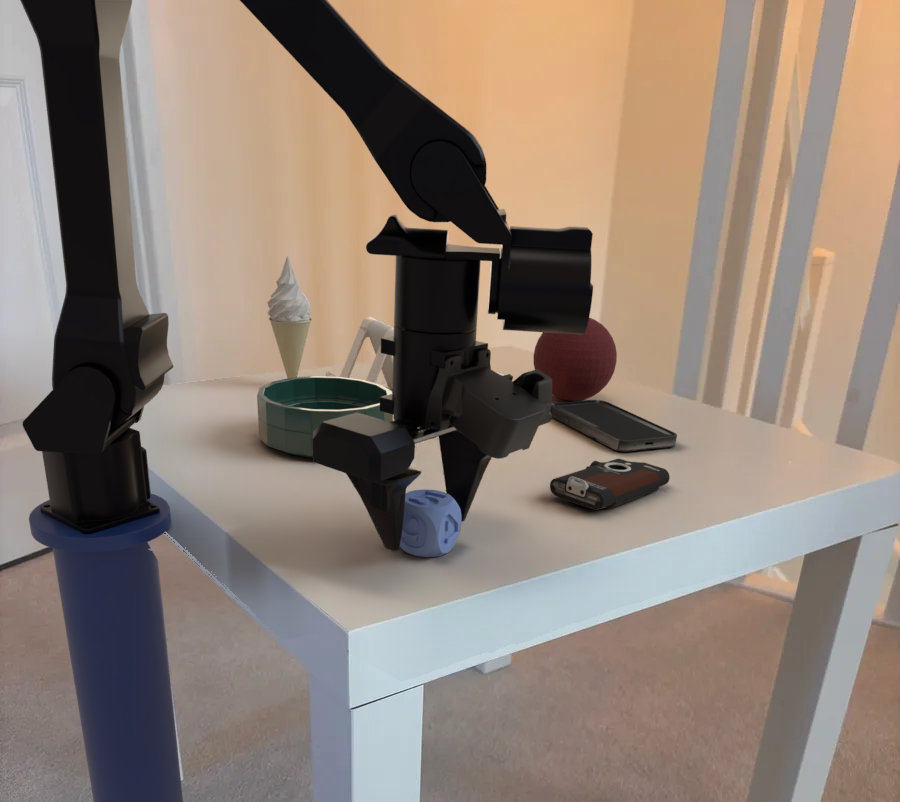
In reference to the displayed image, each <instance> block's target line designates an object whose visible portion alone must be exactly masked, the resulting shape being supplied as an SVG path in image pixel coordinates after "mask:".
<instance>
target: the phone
mask: <svg viewBox="0 0 900 802" xmlns="http://www.w3.org/2000/svg"><path fill="white" fill-rule="evenodd" d="M550 412H551V414H552V419H555V420H557V421H559V422H561V423H563V424H564V425H567V426H568V427H570V428H572V429H573V430H576V431H578V432H580V433H581V434H583V435H586V436H587V437H589V438H591V439H593V440H595V441H597V442H599V443H600V444H603V445H605V446H607V447H609V448H611V449H612V450H613V451H614V450H615V451H618V452H623V453H624V452H626V453H628V452H636V451H637V452H638V451H646V450H654V449H655V450H656V449H664V448H665V449H666V448H673V447H676V445H677V444H676V443H677V438H678V434H677V433H676V432H674V431H672V430H670V429H668V428H665V427H664V426H661V425H659V424H656V423H655V422H652V421H650V420H648V419H646V418H644V417H641V416H639V415H637V414H634V413H633V412H630V411H628V410H626V409H624V408H621V407H619V406H617V405H616V404H613V403H610V402H608V401H605V400H603V399H602V400H601V399H589V400H579V401H564V402H563V401H561V402H552V406H551V408H550Z"/></svg>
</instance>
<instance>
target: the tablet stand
mask: <svg viewBox="0 0 900 802" xmlns="http://www.w3.org/2000/svg"><path fill="white" fill-rule="evenodd" d="M391 336H394V326H392V325H389V324H387V323H384V322H382V321H380V320H378V319H376V318H374V317H371V316H367V317H365V318H364V319H362V321H361V323H360V326H359V328H358V331H357V332H356V335H355V338H354V339H353V343H352V345H351V348H350V350H349V352H348V355H347V358H346V360H345V363H344V365H343V368H342V370H341V373H340V375H339V376H338V377H344V378H351V375H352V372H353V369H354V366H355V364H356V363H357V362H356V361H357V360H358V357H359V354H360V352H361V350H362V347H363V344H364V342H365V340H366V339H367V338H369V340H370V343H371V346H372V348H373V351H374V354H375V357H374V359H373V362H372V364H371V367H370V369H369V372H368V374H367V376H366V379H365V381H369V382H372V383H376V382H377V380H378V377H379V375H380V372H382V375H383V377H384V380H385V383H386V385H387V389H389V390H391V391H392V385H393V356H391V355H387V354H383V353H381V338H386V337H391ZM325 376H327V377H337V376H336V375H335V374H333V373H332V372H330V371H325Z"/></svg>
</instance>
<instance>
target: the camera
mask: <svg viewBox="0 0 900 802" xmlns="http://www.w3.org/2000/svg"><path fill="white" fill-rule="evenodd" d="M670 478H671V477H670V473H669V471H668V470H667V469H665V468H664V467H660V466H656V465H653V464H650V463H647V462H639V461H629V460H625V459H621V458H615V459H612V460H608V461H603V462H602V461H599V460H593V461H592V462H591V463H590V464H589V466H586V467H585V468H584V469H581V470H577V471H574V472H571V473H567V474H565V475H561V476H558V477H555V478H552V479H551V480H550V483H549V490H550V492H551V494H553V496H555V497H557V498H559V499H562V500H564V501H566V502H569V503H572V504H576V505H578V506H581V507H585V508H589V509H592V510H593V511H594V510H595V511H597V510H602V509H604V508H606V509H612V508H615V507H618V506H620V505H623V504H625V503H628V502H631V501H633V500H636V499H639V498H641V497H644V496H647V495H649V494H651V493H655V492H657V491H658V490H659V489H660V487H663V486H665V485H667V484H668V483H669V482H670Z"/></svg>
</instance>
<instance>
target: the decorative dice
mask: <svg viewBox="0 0 900 802" xmlns="http://www.w3.org/2000/svg"><path fill="white" fill-rule="evenodd" d="M461 527H462V522H461V510H460V507H459V506H458V504H457V502H456V501H455V500H454V499H453V497H452V496H450V495H449V494H447V493H446V492H444V491H441V490H436V489H427V488H425V489H415V490H410V491H408V492H406V495H405V506H404V517H403V527H402V536H401V541H400V546H399V548H400V549H401V550H402V551H403V552H405V553H407V554H409V555H411V556H414V557H420V558H435V557H441V556H444V555H447V554H448V553H449V552H450V551H451V550H453V548H454V546H455V544H456V543H457V540H458V538H459V536H460V531H461Z"/></svg>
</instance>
